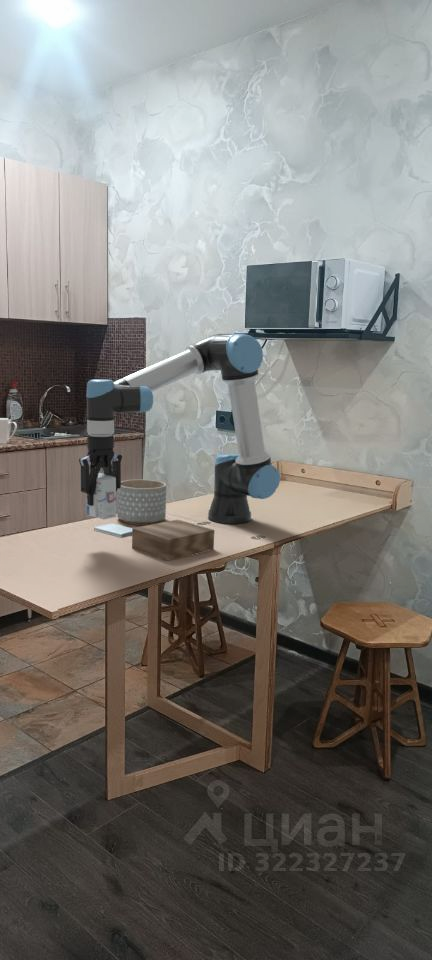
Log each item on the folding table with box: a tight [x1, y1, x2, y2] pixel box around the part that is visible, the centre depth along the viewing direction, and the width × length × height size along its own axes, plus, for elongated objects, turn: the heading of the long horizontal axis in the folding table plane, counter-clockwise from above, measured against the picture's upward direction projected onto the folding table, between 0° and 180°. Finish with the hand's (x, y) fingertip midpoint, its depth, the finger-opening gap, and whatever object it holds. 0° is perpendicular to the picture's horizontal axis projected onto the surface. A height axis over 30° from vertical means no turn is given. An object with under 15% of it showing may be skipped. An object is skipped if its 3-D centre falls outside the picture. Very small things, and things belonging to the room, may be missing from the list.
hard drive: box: [93, 523, 133, 538], centre depth 224 cm, size 2×8×12 cm
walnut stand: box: [131, 519, 215, 562], centre depth 206 cm, size 18×16×6 cm
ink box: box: [86, 472, 117, 520], centre depth 201 cm, size 9×5×12 cm, turn 45°
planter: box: [116, 479, 167, 526], centre depth 239 cm, size 16×16×13 cm
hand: (101, 514), depth 202 cm, fingers closed on ink box, 5 cm apart
